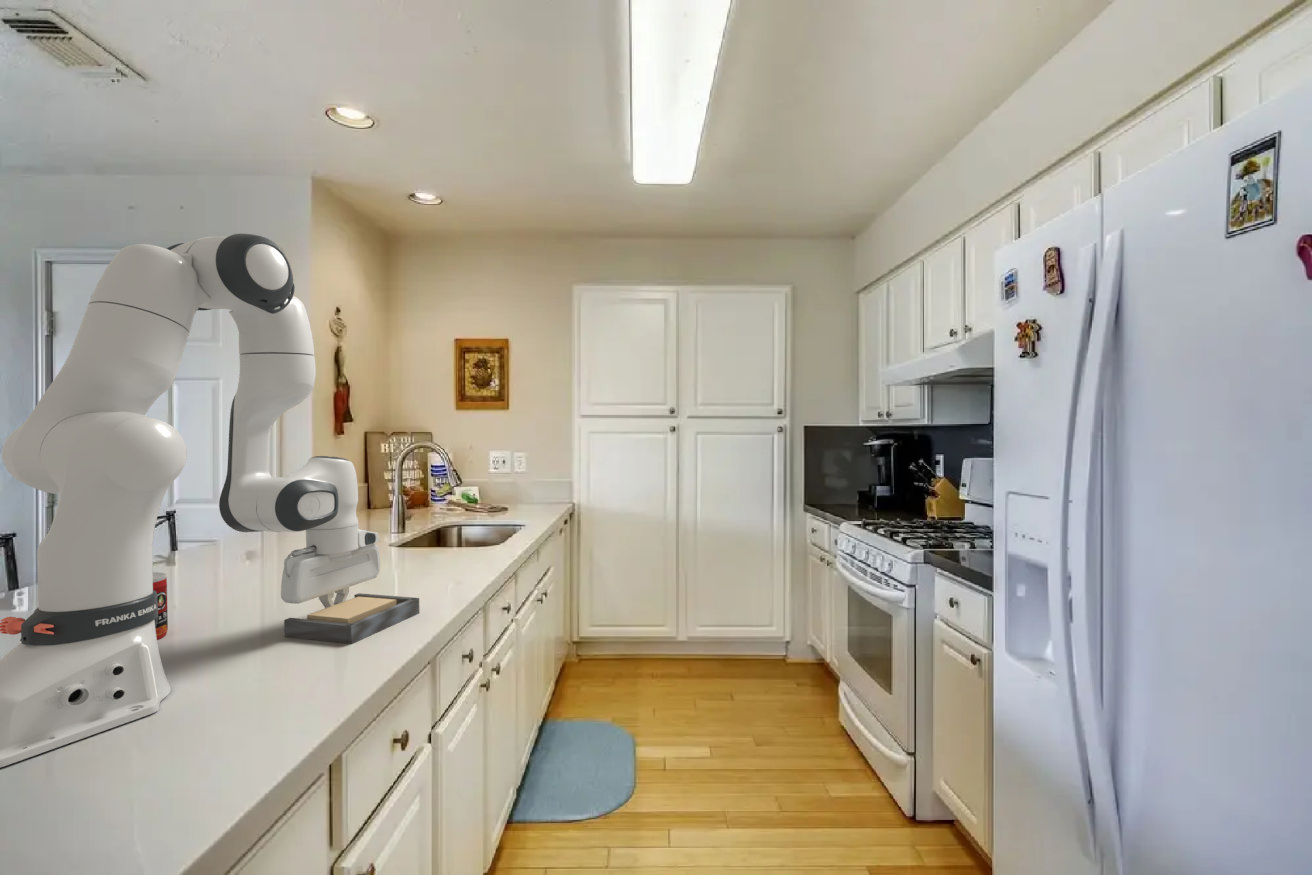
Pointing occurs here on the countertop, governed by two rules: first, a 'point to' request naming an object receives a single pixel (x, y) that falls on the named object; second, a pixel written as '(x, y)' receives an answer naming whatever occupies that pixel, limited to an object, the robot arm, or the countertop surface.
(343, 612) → the carton
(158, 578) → the canned food
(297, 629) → the dark grey piece
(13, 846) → the countertop surface
